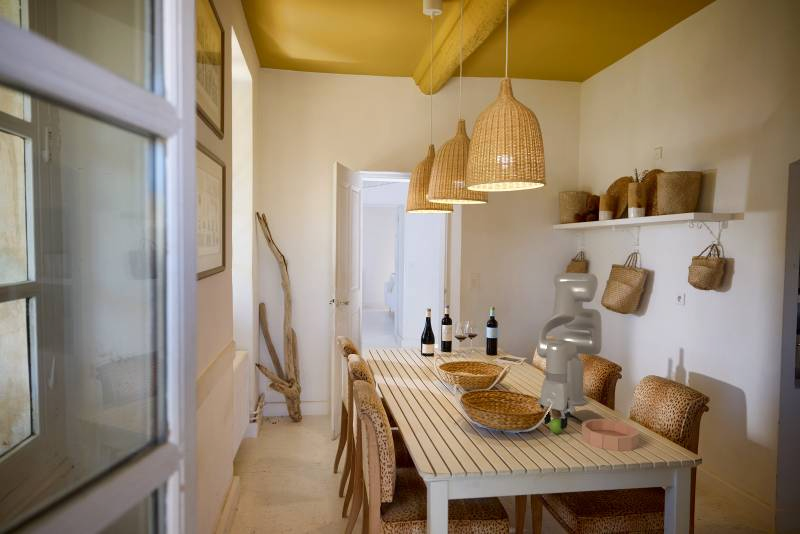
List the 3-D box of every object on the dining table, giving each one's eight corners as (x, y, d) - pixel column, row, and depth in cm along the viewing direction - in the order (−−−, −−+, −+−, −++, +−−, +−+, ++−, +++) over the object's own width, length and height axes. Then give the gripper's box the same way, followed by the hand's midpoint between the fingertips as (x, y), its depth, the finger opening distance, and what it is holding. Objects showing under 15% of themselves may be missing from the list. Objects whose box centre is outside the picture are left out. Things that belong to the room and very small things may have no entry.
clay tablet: (608, 423, 197) (608, 415, 197) (588, 428, 191) (588, 420, 191) (575, 412, 211) (575, 405, 211) (556, 416, 205) (556, 409, 205)
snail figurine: (543, 431, 185) (544, 399, 185) (557, 429, 188) (558, 398, 187) (552, 436, 180) (553, 404, 180) (567, 434, 183) (568, 402, 182)
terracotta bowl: (598, 427, 190) (598, 415, 190) (647, 442, 176) (647, 429, 176) (571, 438, 179) (572, 426, 179) (622, 455, 164) (622, 441, 164)
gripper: (530, 374, 188) (529, 421, 188) (572, 383, 174) (571, 434, 175) (542, 371, 193) (541, 417, 193) (583, 380, 179) (582, 430, 180)
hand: (555, 425), depth 184 cm, fingers open, 6 cm apart
